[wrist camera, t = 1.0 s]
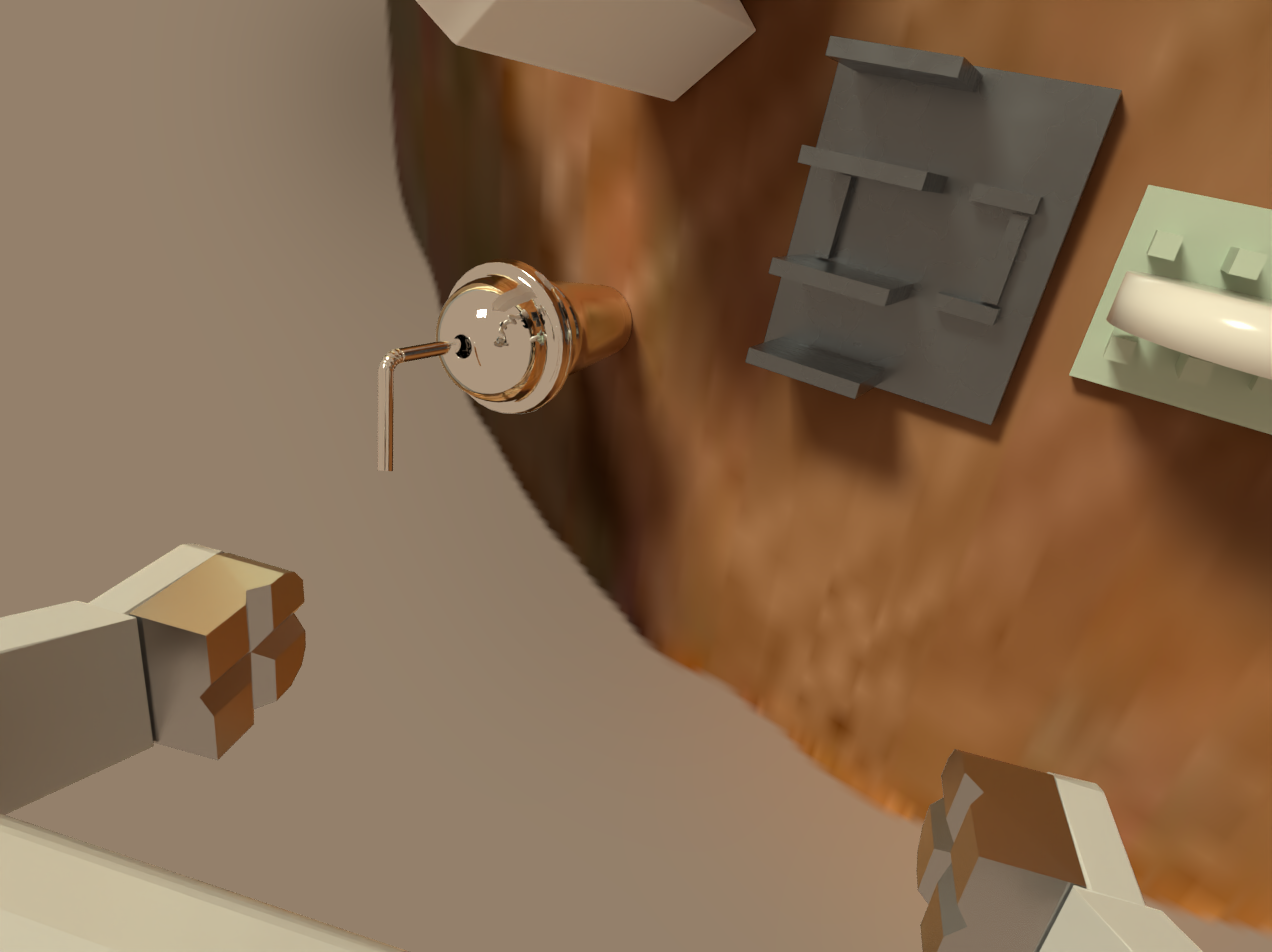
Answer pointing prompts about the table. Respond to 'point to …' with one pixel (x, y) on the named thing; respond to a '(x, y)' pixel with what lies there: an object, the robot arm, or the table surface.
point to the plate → (1197, 320)
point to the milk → (603, 37)
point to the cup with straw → (511, 340)
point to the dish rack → (929, 225)
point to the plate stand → (1198, 252)
